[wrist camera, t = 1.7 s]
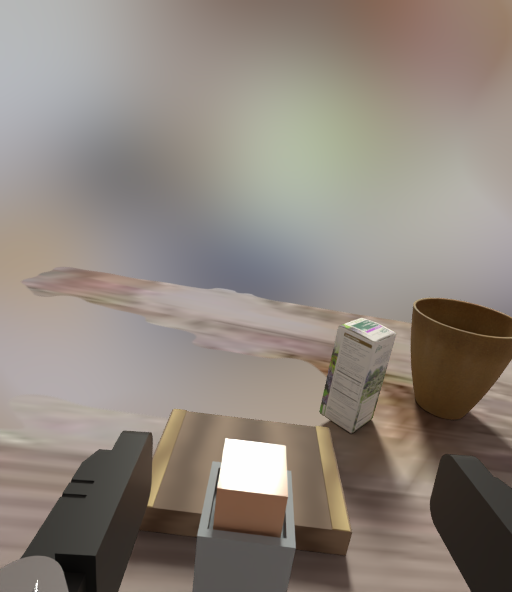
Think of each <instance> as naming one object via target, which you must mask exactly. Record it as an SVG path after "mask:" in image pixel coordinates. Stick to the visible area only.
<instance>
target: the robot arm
mask: <svg viewBox="0 0 512 592" xmlns="http://www.w3.org/2000/svg"><path fill="white" fill-rule="evenodd" d="M152 445H153V438H152V433H150V432H136V431H123V432H122V433H121V434H120V436H119V438H118V440H117V442H116V443H115V445H114V447H113V449H112V450H101V449H99V450H98V451H96V452H95V453H94V454H93V455H91V456H90V457H89V458H88V459H86V460H85V461H84V462H82V464H81V465H80V467H79V468H78V470H77V472H76V473H75V475H74V476H73V478H72V480H71V483H69V484H68V486H67V487H66V489H65V490H64V492H63V494H62V497H60V498H59V500H58V501H57V503H56V504H55V506H54V508H53V509H52V511H51V512H50V514H49V515H48V517H47V518H46V520H45V522H44V523H43V525H42V526H41V528H40V529H39V531H38V533H37V534H36V536H35V537H34V539H33V540H32V542H31V543H30V545H29V547H28V548H27V550H26V551H25V553H24V554H23V556H22V557H21V558H20V559H19V560H16V561H14V562H12V563H10V564H8V565H6V566H4V567H3V568H1V569H0V592H118V591H119V588H120V585H121V582H122V579H123V576H124V573H125V570H126V567H127V564H128V561H129V558H130V555H131V552H132V549H133V546H134V543H135V540H136V538H137V535H138V532H139V529H140V526H141V523H142V520H143V517H144V514H145V511H146V508H147V505H148V501H149V497H150V492H151V484H152ZM430 511H431V517H432V520H433V523H434V525H435V527H436V529H437V531H438V533H439V534H440V536H441V538H442V540H443V542H444V543H445V545H446V547H447V549H448V551H449V552H450V554H451V556H452V558H453V560H454V561H455V563H456V565H457V567H458V569H459V570H460V572H461V574H462V576H463V578H464V579H465V581H466V583H467V585H468V587H469V588H470V590H471V592H512V488H510V487H509V486H508V485H506V484H505V483H504V482H502V481H501V480H499V479H498V478H496V477H493V476H492V474H491V473H490V472H489V471H488V470H487V469H486V467H485V466H484V465H483V464H482V463H481V462H480V461H479V460H478V459H477V458H476V457H474V456H465V455H451V454H445V455H443V456H442V458H441V460H440V464H439V467H438V471H437V475H436V479H435V483H434V487H433V491H432V495H431V499H430Z"/></svg>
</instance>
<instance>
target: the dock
mask: <svg viewBox="0 0 512 592" xmlns="http://www.w3.org/2000/svg"><path fill="white" fill-rule="evenodd" d="M226 439H235V440H243V441H251V442H259V443H267V444H275V445H284V446H286V460H287V470H288V471H291V475H292V492H293V509H294V526H295V543H296V549H297V550H305V551H313V552H321V553H329V554H337V555H345V556H346V553H347V549H348V545H349V542H350V538H351V534H352V529H351V525H350V520H349V516H348V511H347V506H346V502H345V497H344V492H343V488H342V483H341V479H340V474H339V469H338V465H337V460H336V455H335V451H334V446H333V441H332V437H331V432H330V429H329V428H328V427H320V426H316V427H312V426H303V425H295V424H286V423H279V422H271V421H263V420H254V419H246V418H238V417H229V416H222V415H212V414H204V413H197V412H189V411H186V410H180V409H174V410H172V412H171V415H170V417H169V419H168V422H167V424H166V426H165V429H164V431H163V434H162V436H161V438H160V441H159V443H158V446H157V448H156V450H155V453H154V455H153V458H152V484H151V492H150V497H149V501H148V505H147V508H146V511H145V514H144V517H143V520H142V523H141V526H140V529H139V530H143V531H151V532H159V533H168V534H176V535H184V536H192V537H197V534H198V529H199V524H200V520H201V515H202V510H203V505H204V500H205V495H206V491H207V486H208V481H209V476H210V471H211V466H212V461H215V462H222V457H223V451H224V446H225V440H226Z"/></svg>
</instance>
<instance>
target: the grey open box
mask: <svg viewBox="0 0 512 592" xmlns="http://www.w3.org/2000/svg"><path fill="white" fill-rule="evenodd" d="M221 463H222V462H215V461H212V466H211V471H210V476H209V481H208V486H207V491H206V495H205V500H204V505H203V510H202V515H201V520H200V524H199V529H198V534H197V544H196V556H195V568H194V581H193V592H287V588H288V583H289V578H290V574H291V569H292V564H293V559H294V554H295V550H296V543H295V526H294V509H293V492H292V475H291V471H288V470H287V483H288V500H287V506H286V511H285V516H284V522H283V527H282V532H281V538H278V537H270V536H262V535H254V534H246V533H238V532H229V531H221V530H213V524H214V514H215V504H216V494H217V485H218V480H219V474H220V468H221Z"/></svg>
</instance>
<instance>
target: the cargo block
mask: <svg viewBox="0 0 512 592" xmlns="http://www.w3.org/2000/svg"><path fill="white" fill-rule="evenodd" d="M287 500H288V483H287V460H286V446H284V445H275V444H267V443H259V442H251V441H243V440H235V439H226V440H225V446H224V451H223V457H222V463H221V468H220V474H219V480H218V485H217V494H216V504H215V514H214V524H213V530H221V531H229V532H238V533H246V534H254V535H262V536H270V537H278V538H281V532H282V527H283V522H284V516H285V511H286V506H287Z"/></svg>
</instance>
